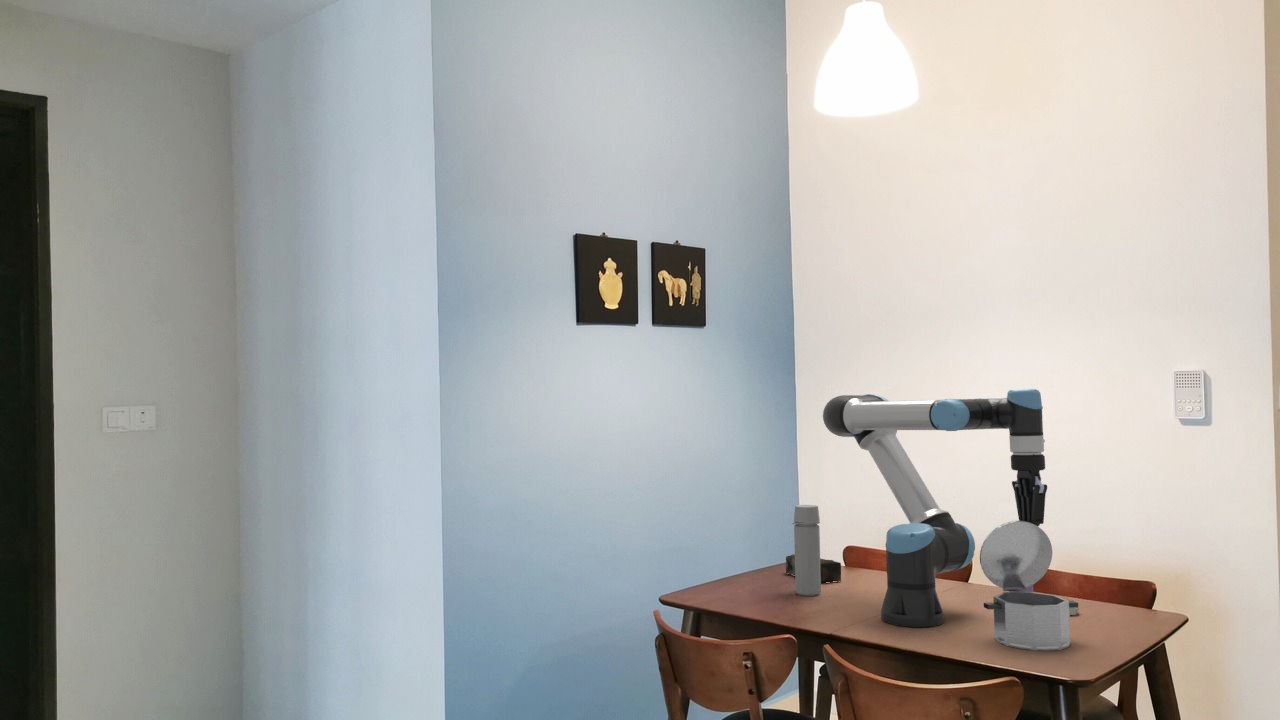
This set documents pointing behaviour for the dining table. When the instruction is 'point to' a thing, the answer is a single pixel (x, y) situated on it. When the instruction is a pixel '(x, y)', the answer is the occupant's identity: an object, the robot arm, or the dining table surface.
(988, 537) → the lid
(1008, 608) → the pot
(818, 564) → the water bottle
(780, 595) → the dining table surface
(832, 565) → the beverage carton
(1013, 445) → the robot arm
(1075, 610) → the grey block
